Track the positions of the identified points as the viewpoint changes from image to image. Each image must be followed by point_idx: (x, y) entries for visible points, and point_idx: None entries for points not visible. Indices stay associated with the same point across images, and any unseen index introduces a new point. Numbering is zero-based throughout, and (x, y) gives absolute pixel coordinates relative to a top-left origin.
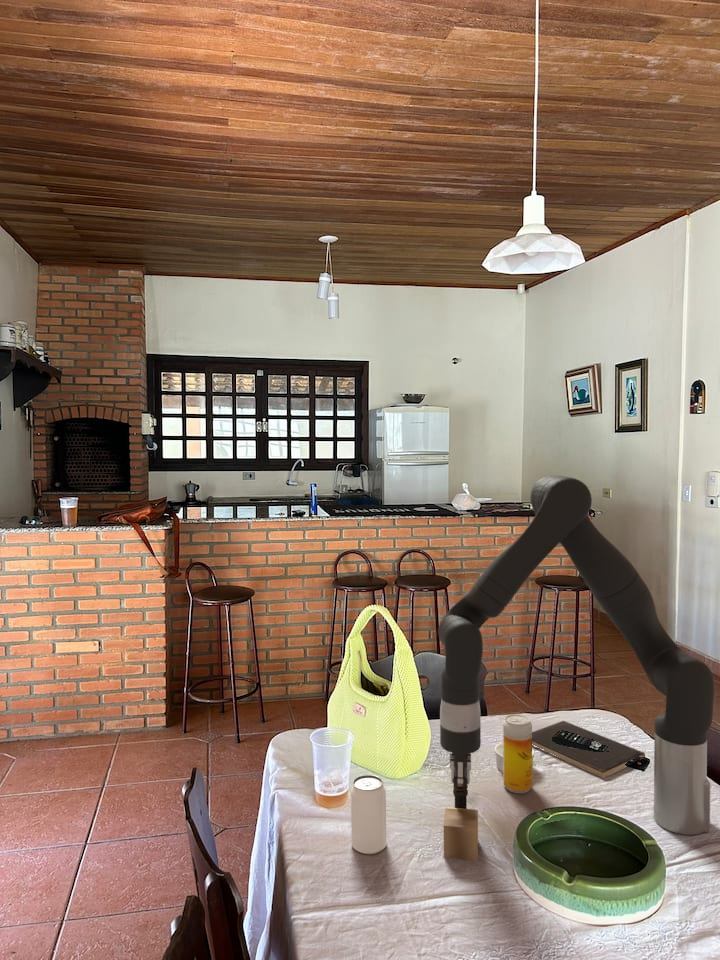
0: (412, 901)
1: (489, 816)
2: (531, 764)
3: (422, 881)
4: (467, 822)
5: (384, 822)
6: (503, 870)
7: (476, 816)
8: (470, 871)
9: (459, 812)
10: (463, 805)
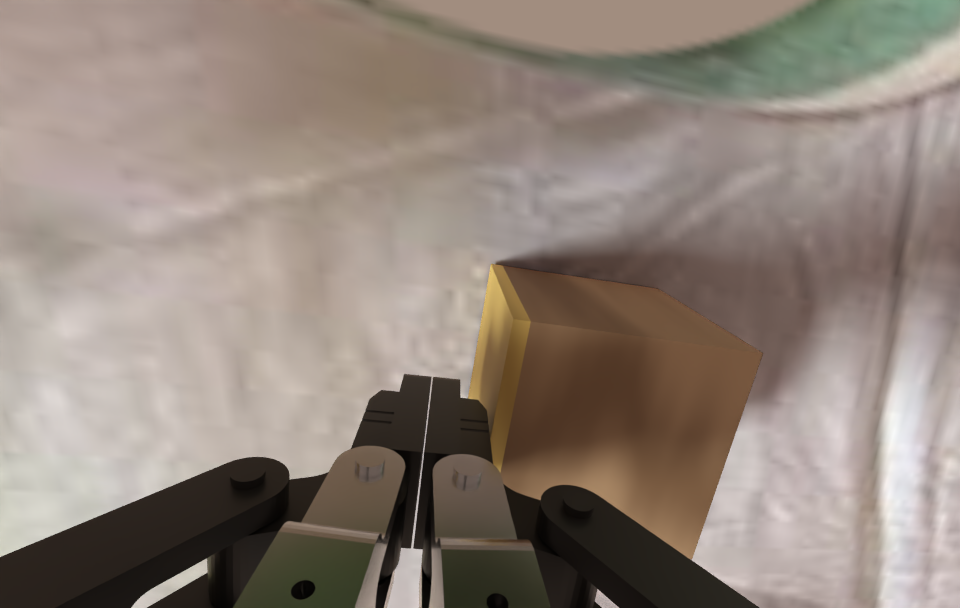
0: (878, 561)
1: (223, 153)
2: None
3: (770, 525)
4: (678, 413)
5: None
6: (753, 169)
7: (609, 341)
8: (736, 333)
9: (545, 455)
10: (487, 434)
